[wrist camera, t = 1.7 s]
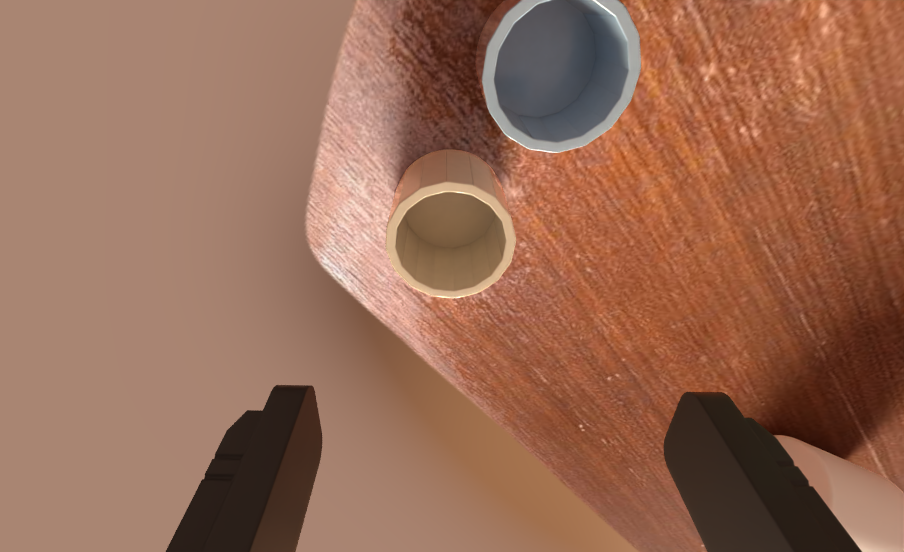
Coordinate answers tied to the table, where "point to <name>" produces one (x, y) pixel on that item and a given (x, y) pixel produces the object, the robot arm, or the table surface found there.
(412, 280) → the cream cup
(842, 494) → the mug
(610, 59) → the gray cup
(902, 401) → the table surface
